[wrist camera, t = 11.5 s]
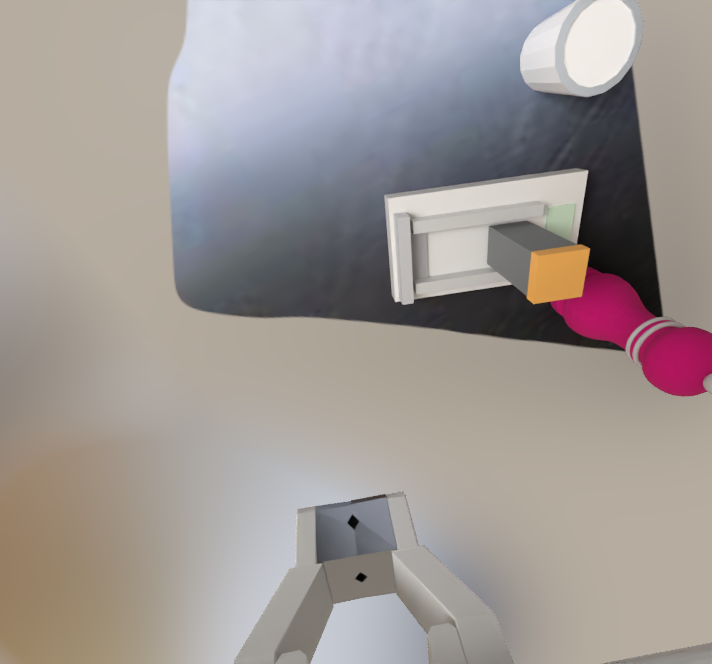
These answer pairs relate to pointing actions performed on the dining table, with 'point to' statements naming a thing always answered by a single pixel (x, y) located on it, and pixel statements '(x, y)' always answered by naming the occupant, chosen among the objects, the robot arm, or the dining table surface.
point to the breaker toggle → (537, 261)
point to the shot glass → (583, 47)
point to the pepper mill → (641, 334)
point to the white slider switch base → (471, 228)
